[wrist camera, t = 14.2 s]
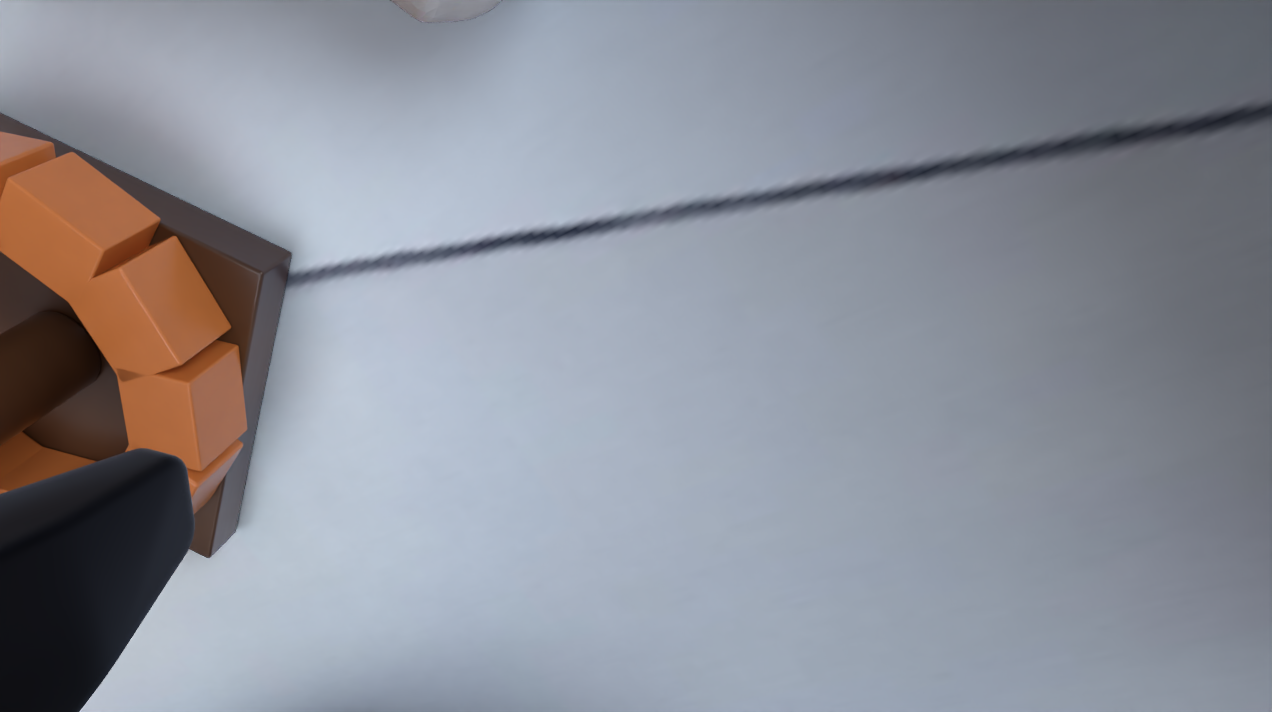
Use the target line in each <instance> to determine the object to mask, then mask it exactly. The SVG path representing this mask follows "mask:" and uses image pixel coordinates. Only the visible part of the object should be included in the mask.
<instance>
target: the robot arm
mask: <svg viewBox="0 0 1272 712" xmlns="http://www.w3.org/2000/svg"><path fill="white" fill-rule="evenodd" d="M194 531H195V519H194V512H193V505H192V499H191V492H190V485H189V478H188V471H187V468H186V465H185V464H184V462H183V461H182V459H180V458H178V457H177V456H175V455H171V454H167V453H163V452H159V451H156V450H152V449H147V448H137V449H134V450H130V451H127V452H124V453H121V454H118V455H115V456H112V457H109V458H106V459H103V460H100V461H97V462H94V463H91V464H88V465H85V466H82V467H79V468H76V469H73V470H70V471H67V472H64V473H61V474H58V475H55V476H52V477H49V478H46V479H43V480H40V481H37V482H34V483H31V484H28V485H25V486H22V487H19V488H16V489H13V490H10V491H7V492H4V493H1V494H0V712H79V711H80V710H81V709H82V707H83V706H84V705H85V703H86V702H87V701H88V700H89V698H90V697H91V696H92V694H93V693H94V692H95V690H96V689H97V688H98V686H99V685H100V684H101V682H102V681H103V680H104V678H105V677H106V675H107V674H108V672H109V671H110V669H111V668H112V667H113V665H114V664H115V662H116V661H117V659H118V658H119V656H120V655H121V653H122V652H123V650H124V649H125V647H126V645H127V644H128V642H129V641H130V639H131V638H132V636H133V635H134V633H135V632H136V630H137V629H138V627H139V625H140V624H141V622H142V621H143V619H144V618H145V616H146V615H147V613H148V612H149V610H150V608H151V607H152V605H153V604H154V602H155V601H156V599H157V598H158V596H159V595H160V593H161V591H162V590H163V588H164V587H165V585H166V584H167V582H168V581H169V579H170V578H171V576H172V575H173V573H174V571H175V570H176V568H177V567H178V565H179V564H180V562H181V561H182V559H183V558H184V556H185V554H186V553H187V551H188V549H189V547H190V545H191V543H192V540H193V536H194Z"/></svg>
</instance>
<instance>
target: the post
mask: <svg viewBox="0 0 1272 712" xmlns="http://www.w3.org/2000/svg"><path fill="white" fill-rule="evenodd" d="M0 131H1V132H6V133H11V134H16V135H20V136H25V137H30V138H35V139H40V140H44V141H49V142H52V143H53V144H54V148H55V153H56V158H57V157H59V156H62V155H64V154H66V153H69V152H74V153H76V154H77V155H78V156H80V157H81V158H82V159H83V160H85V161H86V162H87V163H89V164H90V165H91V166H93V167H94V168H95V169H97V170H98V171H99V172H101V173H102V174H103V175H104V176H106V177H107V178H108V179H110V180H111V181H112V182H114V183H115V184H116V185H118V186H119V187H120V188H121V189H123V190H124V191H125V192H127V193H128V194H129V195H131V196H132V197H133V198H135V199H136V200H137V201H139V202H140V203H141V204H142V205H144V206H145V207H146V208H148V209H149V210H150V211H152V212H153V213H154V214H156V215H157V216H158V217H159V218H160V219H161V221H160V223H159V225H158V227H157V229H156V231H155V234H154V236H153V238H152V240H151V242H150V244H149V246H150V245H152V244H155V243H157V242H160V241H162V240H164V239H167V238H169V237H172V236H176V237H177V238H178V239H179V241H180V243H181V244H182V246H183V248H184V249H185V251H186V252H187V254H188V256H189V257H190V259H191V261H192V262H193V264H194V266H195V267H196V269H197V271H198V272H199V274H200V275H201V277H202V279H203V280H204V282H205V284H206V285H207V287H208V289H209V290H210V292H211V293H212V295H213V297H214V298H215V300H216V302H217V303H218V305H219V307H220V308H221V310H222V311H223V313H224V315H225V316H226V318H227V320H228V321H229V323H230V325H231V329H230V330H228V331H227V332H226V333H224V334H223V335H222V336H220V337H219V338H218V339H216V340H219V341H223V342H227V343H232V344H236V345H238V346H239V353H240V363H241V372H242V382H243V391H244V401H245V410H246V420H247V431H245V432H244V433H243V434H242V435H241V436H240V437H239V438H238V440H240V441H241V442H242V443H243V447H242V449H241V451H240V452H239V454H238V455H237V457H236V459H235V460H234V462H233V464H232V465H231V467H230V468H229V470H228V472H227V473H226V475H225V476H224V478H223V480H222V481H221V483H220V484H219V486H218V488H217V489H216V491H215V493H214V494H213V496H212V497H211V499H210V500H209V501H208V502H207V503H206V504H205V505H204V506H202V507H201V508H200V509H199V510H198V511H197V512H196V513H195V514H194V519H195V531H194V536H193V540H192V543H191V545H190V547H189V549H190V550H192V551H194V552H196V553H198V554H200V555H202V556H204V557H206V558H210V557H211V556H212V555H213V554H214V553H215V552H216V551H217V550H218V549H219V548H220V547H221V546H222V545H223V544H224V543H225V542H226V541H227V540H228V539H229V538H230V537H231V536H232V535H233V534H234V533H235V531H236V527H237V522H238V517H239V512H240V507H241V502H242V497H243V493H244V488H245V483H246V478H247V473H248V468H249V463H250V458H251V453H252V448H253V443H254V438H255V433H256V429H257V424H258V419H259V414H260V409H261V404H262V399H263V394H264V389H265V384H266V379H267V374H268V370H269V365H270V360H271V355H272V350H273V345H274V340H275V335H276V330H277V325H278V320H279V315H280V310H281V306H282V301H283V296H284V291H285V286H286V281H287V276H288V271H289V266H290V261H291V256H292V253H291V252H289V251H287V250H285V249H283V248H281V247H279V246H277V245H275V244H273V243H271V242H269V241H266V240H264V239H262V238H260V237H258V236H256V235H254V234H252V233H250V232H248V231H246V230H244V229H241V228H239V227H237V226H235V225H233V224H231V223H229V222H227V221H225V220H223V219H221V218H219V217H216V216H214V215H212V214H210V213H208V212H206V211H204V210H202V209H200V208H198V207H196V206H194V205H191V204H189V203H187V202H185V201H183V200H181V199H179V198H177V197H175V196H173V195H171V194H168V193H166V192H164V191H162V190H160V189H158V188H156V187H154V186H152V185H150V184H148V183H146V182H143V181H141V180H139V179H137V178H135V177H133V176H131V175H129V174H127V173H125V172H123V171H121V170H118V169H116V168H114V167H112V166H110V165H108V164H106V163H104V162H102V161H100V160H98V159H96V158H93V157H91V156H89V155H87V154H85V153H83V152H81V151H79V150H77V149H75V148H73V147H71V146H68V145H66V144H64V143H62V142H60V141H58V140H56V139H54V138H52V137H50V136H48V135H45V134H43V133H41V132H39V131H37V130H35V129H33V128H31V127H29V126H27V125H25V124H23V123H20V122H18V121H16V120H14V119H12V118H10V117H8V116H6V115H4V114H2V113H0ZM20 432H24V433H25V434H26V435H28V436H29V437H30V438H32V439H33V440H34V441H36V442H37V443H39V444H40V445H41V446H43V447H46V448H50V449H54V450H57V451H61V452H65V453H69V454H72V455H76V456H80V457H83V458H87V459H91V460H94V461H100V460H103V459H106V458H109V457H112V456H115V455H118V454H121V453H124V452H125V451H126V449H127V447H128V445H129V443H128V437H127V431H126V425H125V420H124V414H123V408H122V403H121V397H120V391H119V385H118V380H117V375H116V373H115V372H114V370H113V369H112V367H111V366H110V364H109V363H108V361H107V360H106V358H105V357H104V355H103V354H102V352H101V351H100V349H99V348H98V346H97V345H96V343H95V342H94V340H93V339H92V337H91V336H90V334H89V333H88V331H87V330H86V328H85V327H84V325H83V324H82V322H81V321H80V319H79V318H78V316H77V315H76V313H75V312H74V310H73V309H72V307H71V306H70V304H69V303H68V302H67V301H66V300H65V299H63V298H62V297H61V296H59V295H58V294H57V293H55V292H54V291H53V290H51V289H50V288H49V287H47V286H46V285H45V284H43V283H42V282H41V281H39V280H38V279H37V278H35V277H34V276H33V275H31V274H30V273H29V272H27V271H26V270H24V269H23V268H22V267H20V266H19V265H18V264H16V263H15V262H14V261H12V260H11V259H10V258H8V257H7V256H6V255H4V254H3V253H2V252H0V446H1V445H3V444H4V443H6V442H7V441H9V440H10V439H12V438H13V437H14V436H16V435H17V434H19V433H20Z"/></svg>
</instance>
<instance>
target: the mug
mask: <svg viewBox="0 0 1272 712" xmlns="http://www.w3.org/2000/svg"><path fill="white" fill-rule="evenodd" d="M391 1H392V2H394V3H395V4H396V5H397V6H399V7H400V8H401V9H402V10H404V11H405V12H406V13H408V14H409V15H410V16H411V17H413V18H415V19H417V20H419V21H420V22H427V23H432V22H452V21H464V20H469V19H473V18H476V17H478V16H480V15H482V14H484V13H486V12H488V11H490V10H492V9H493V8H494V7H495V6H496V5H498V4H499V3H500V2H501V1H502V0H391Z"/></svg>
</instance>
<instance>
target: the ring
mask: <svg viewBox="0 0 1272 712" xmlns="http://www.w3.org/2000/svg"><path fill="white" fill-rule="evenodd" d="M160 221H161V219H160V218H159V217H158V216H157V215H156V214H154V213H153V212H152V211H150V210H149V209H148V208H146V207H145V206H144V205H142V204H141V203H140V202H139V201H137V200H136V199H135V198H133V197H132V196H131V195H129V194H128V193H127V192H125V191H124V190H123V189H121V188H120V187H119V186H118V185H116V184H115V183H114V182H112V181H111V180H110V179H108V178H107V177H106V176H104V175H103V174H102V173H101V172H99V171H98V170H97V169H95V168H94V167H93V166H91V165H90V164H89V163H87V162H86V161H85V160H83V159H82V158H81V157H80V156H78V155H77V154H76V153H74V152H69V153H66V154H64V155H62V156H59V157H57V158H56V153H55V148H54V144H53V143H52V142H49V141H44V140H40V139H35V138H30V137H25V136H20V135H16V134H11V133H6V132H1V131H0V252H2V253H3V254H4V255H6V256H7V257H8V258H10V259H11V260H12V261H14V262H15V263H16V264H18V265H19V266H20V267H22V268H23V269H24V270H26V271H27V272H29V273H30V274H31V275H33V276H34V277H35V278H37V279H38V280H39V281H41V282H42V283H43V284H45V285H46V286H47V287H49V288H50V289H51V290H53V291H54V292H55V293H57V294H58V295H59V296H61V297H62V298H63V299H65V300H66V301H67V302H68V303H69V304H70V306H71V307H72V309H73V310H74V312H75V313H76V315H77V316H78V318H79V319H80V321H81V322H82V324H83V325H84V327H85V328H86V330H87V331H88V333H89V334H90V336H91V337H92V339H93V340H94V342H95V343H96V345H97V346H98V348H99V349H100V351H101V352H102V354H103V355H104V357H105V358H106V360H107V361H108V363H109V364H110V366H111V367H112V369H113V370H114V372H115V373H116V375H117V380H118V385H119V391H120V397H121V403H122V408H123V414H124V420H125V425H126V431H127V437H128V443H129V445H128V447H127V449H126V451H125V452H127V451H130V450H134V449H137V448H147V449H152V450H156V451H159V452H163V453H167V454H171V455H175V456H177V457H178V458H180V459H182V461H183V462H184V464H185V465H186V468H187V471H188V478H189V485H190V492H191V499H192V505H193V512H194V514H195V513H196V512H197V511H198V510H199V509H200V508H201V507H202V506H204V505H205V504H206V503H207V502H208V501H209V500H210V499H211V497H212V496H213V494H214V493H215V491H216V489H217V488H218V486H219V484H220V483H221V481H222V480H223V478H224V476H225V475H226V473H227V472H228V470H229V468H230V467H231V465H232V464H233V462H234V460H235V459H236V457H237V455H238V454H239V452H240V451H241V449H242V447H243V443H242V442H241V441H240V440H238V438H239V437H240V436H241V435H242V434H243V433H244V432H245V431H247V420H246V410H245V401H244V391H243V382H242V372H241V363H240V353H239V346H238V345H236V344H232V343H227V342H223V341H219V340H216V339H218V338H219V337H220V336H222V335H223V334H224V333H226V332H227V331H228V330H230V329H231V325H230V323H229V321H228V320H227V318H226V316H225V315H224V313H223V311H222V310H221V308H220V307H219V305H218V303H217V302H216V300H215V298H214V297H213V295H212V293H211V292H210V290H209V289H208V287H207V285H206V284H205V282H204V280H203V279H202V277H201V275H200V274H199V272H198V271H197V269H196V267H195V266H194V264H193V262H192V261H191V259H190V257H189V256H188V254H187V252H186V251H185V249H184V248H183V246H182V244H181V243H180V241H179V239H178V238H177V237H176V236H172V237H169V238H167V239H164V240H162V241H160V242H157V243H155V244H152V245H150V246H149V244H150V242H151V240H152V238H153V236H154V234H155V231H156V229H157V227H158V225H159V223H160ZM94 462H97V461H94V460H91V459H87V458H83V457H80V456H76V455H72V454H69V453H65V452H61V451H57V450H54V449H50V448H46V447H43V446H41V445H40V444H39V443H37V442H36V441H34V440H33V439H32V438H30V437H29V436H28V435H26V434H25V433H24V432H20V433H19V434H17V435H16V436H14V437H13V438H12V439H10V440H9V441H7V442H6V443H4V444H3V445H1V446H0V494H1V493H4V492H7V491H10V490H13V489H16V488H19V487H22V486H25V485H28V484H31V483H34V482H37V481H40V480H43V479H46V478H49V477H52V476H55V475H58V474H61V473H64V472H67V471H70V470H73V469H76V468H79V467H82V466H85V465H88V464H91V463H94Z"/></svg>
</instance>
